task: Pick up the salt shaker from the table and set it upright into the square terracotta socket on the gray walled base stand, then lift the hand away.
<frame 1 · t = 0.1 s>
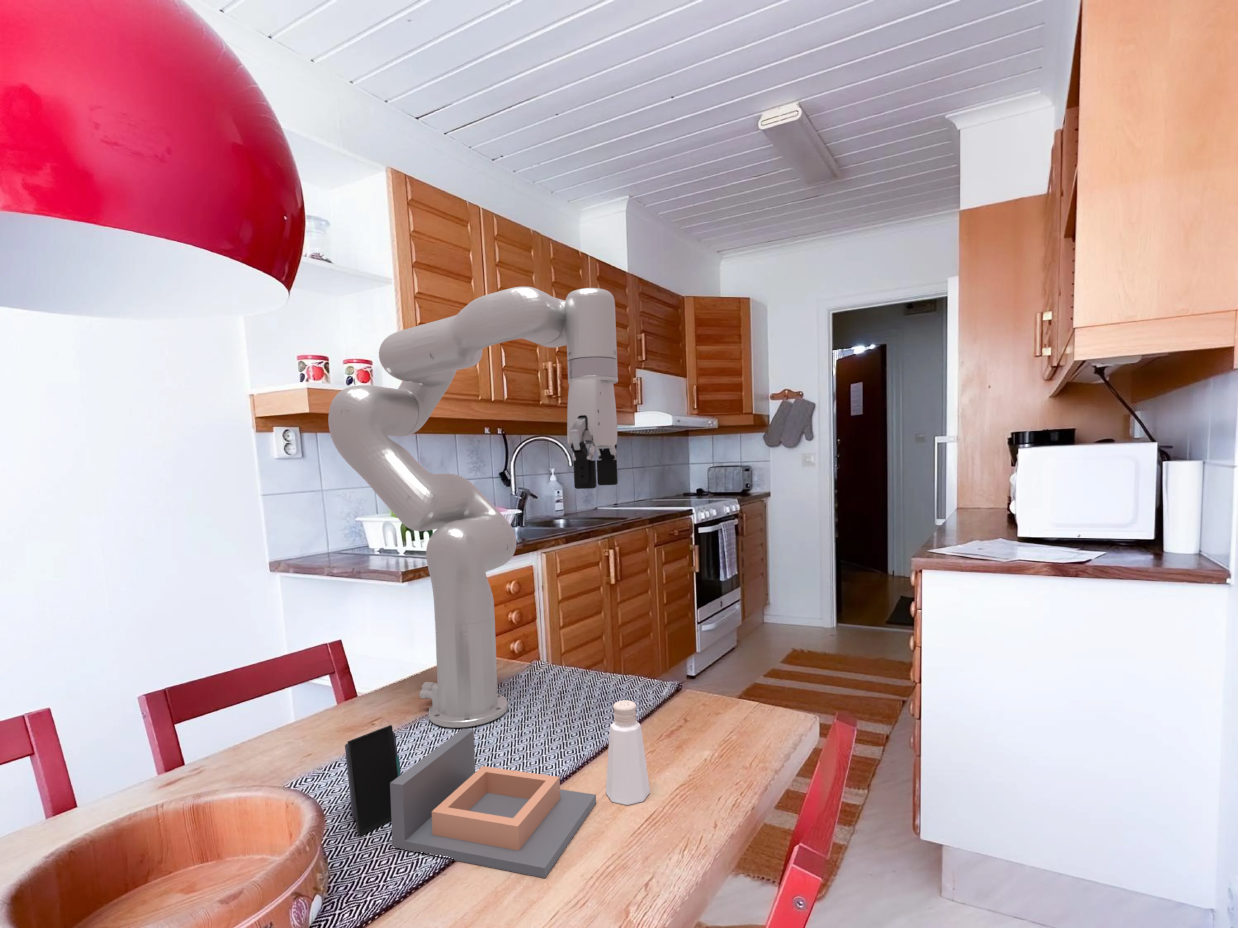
hand: (597, 486, 96), 37 cm above the table, tool pointing down, fingers open, 9 cm apart
salt shaker: (628, 795, 77), on the table
gray walled base stand: (499, 824, 71), on the table
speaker: (371, 814, 75), on the table
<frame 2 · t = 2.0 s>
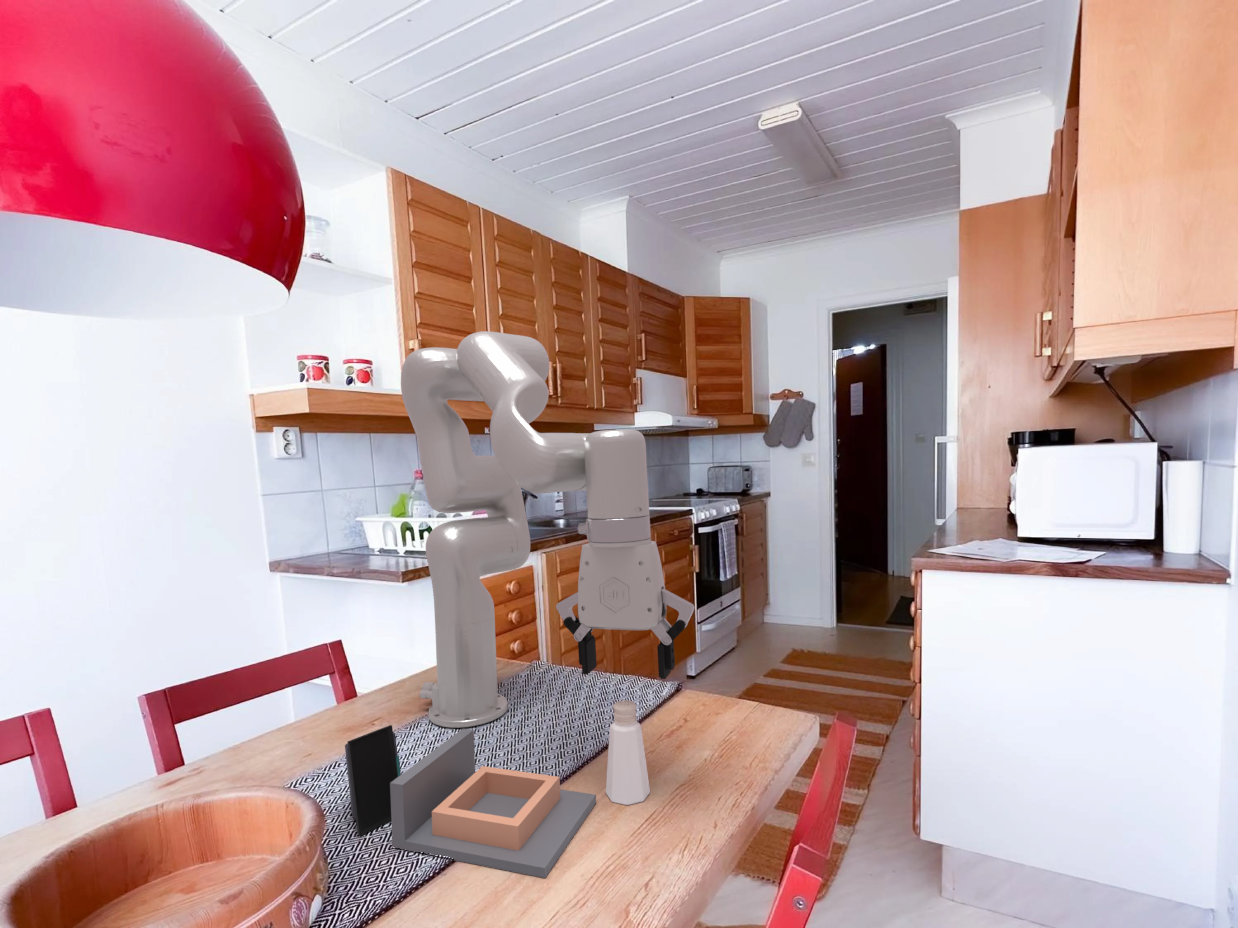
hand: (626, 673, 77), 15 cm above the table, tool pointing down, fingers open, 9 cm apart
nothing on the table moved.
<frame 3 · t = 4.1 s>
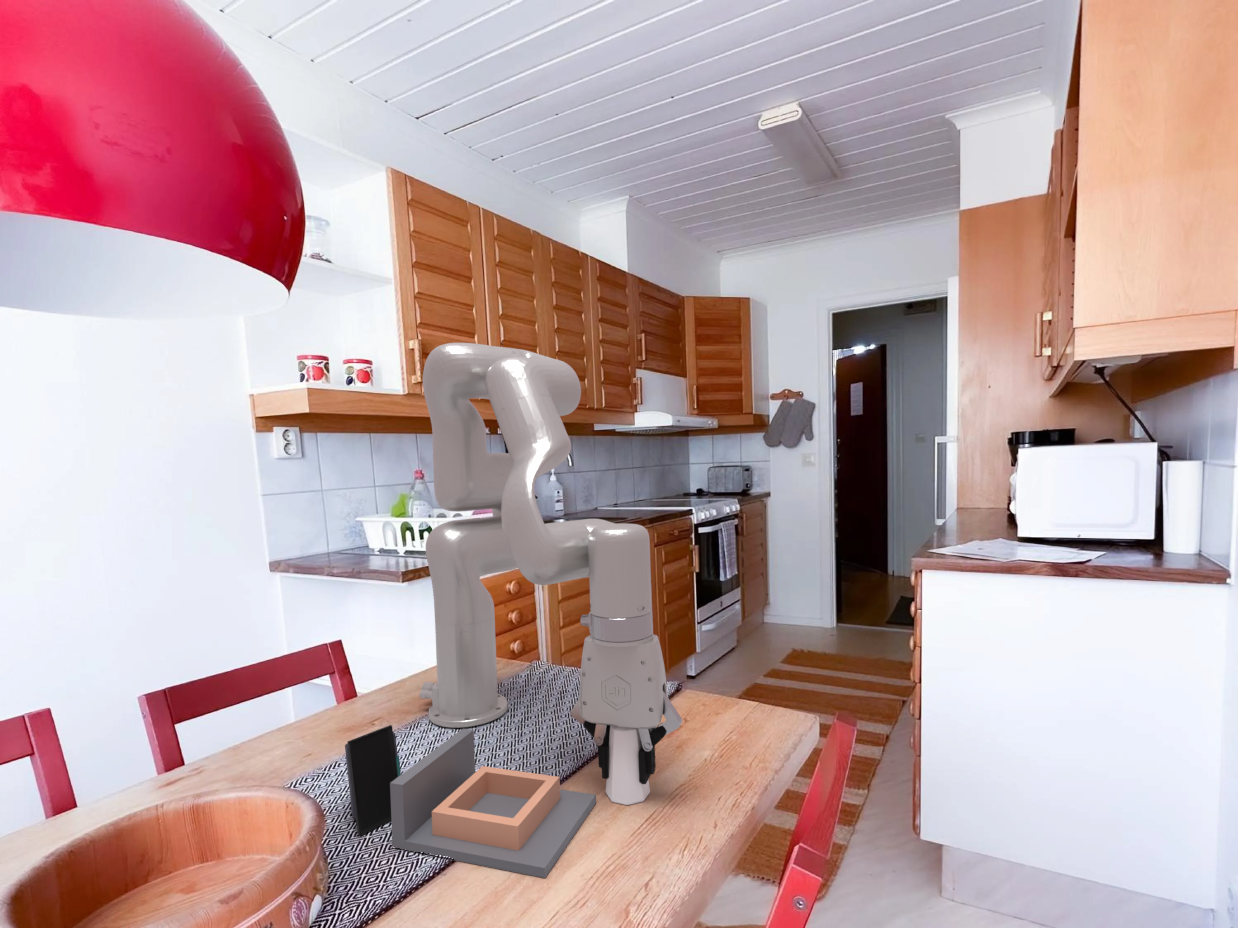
hand: (627, 774, 77), 2 cm above the table, tool pointing down, fingers closed on salt shaker, 4 cm apart
salt shaker: (628, 794, 77), on the table, touching gripper
everything else where it was.
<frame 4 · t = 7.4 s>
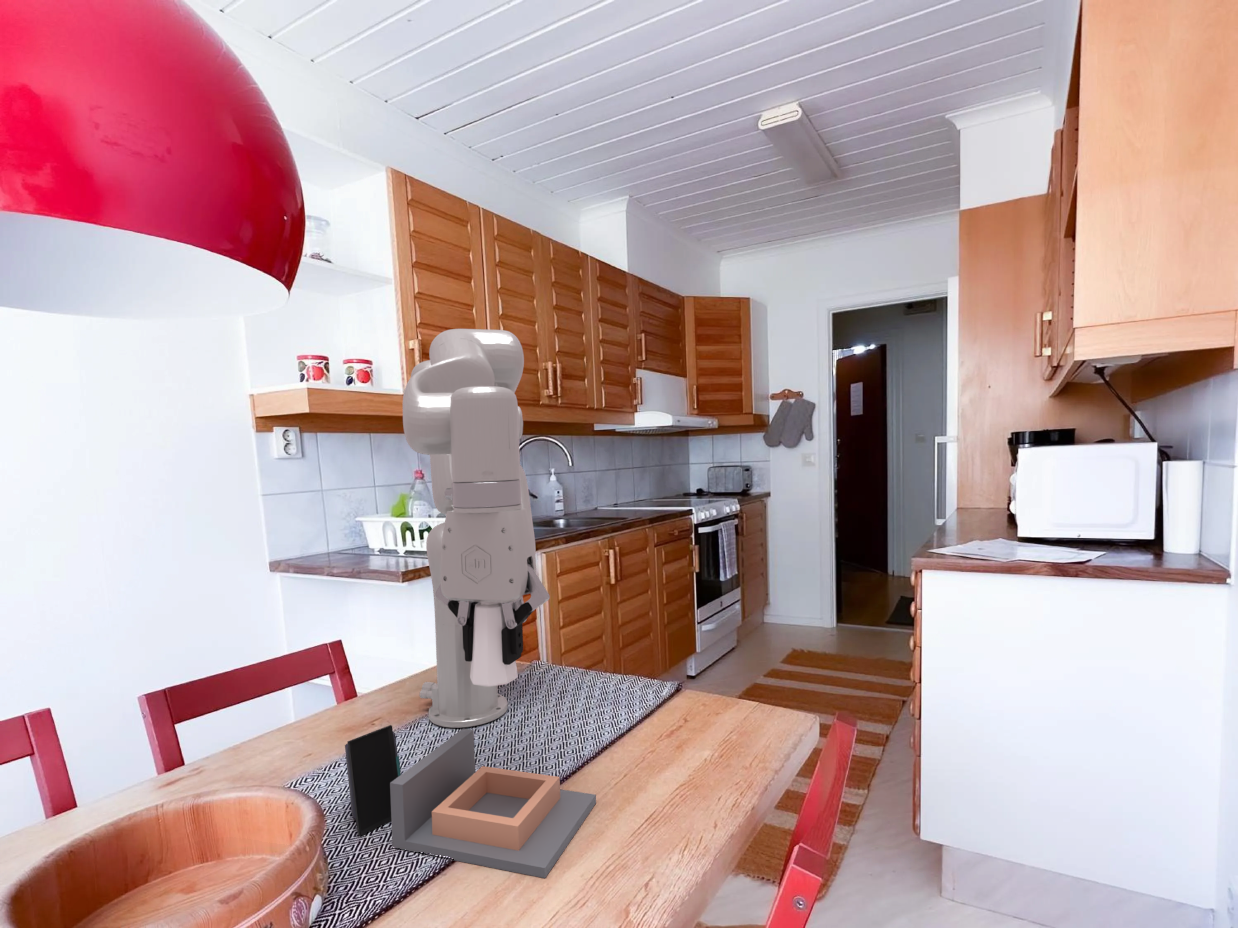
hand: (493, 657, 71), 19 cm above the table, tool pointing down, fingers closed on salt shaker, 4 cm apart
salt shaker: (494, 680, 71), point 16 cm above the table, touching gripper
everything else where it was.
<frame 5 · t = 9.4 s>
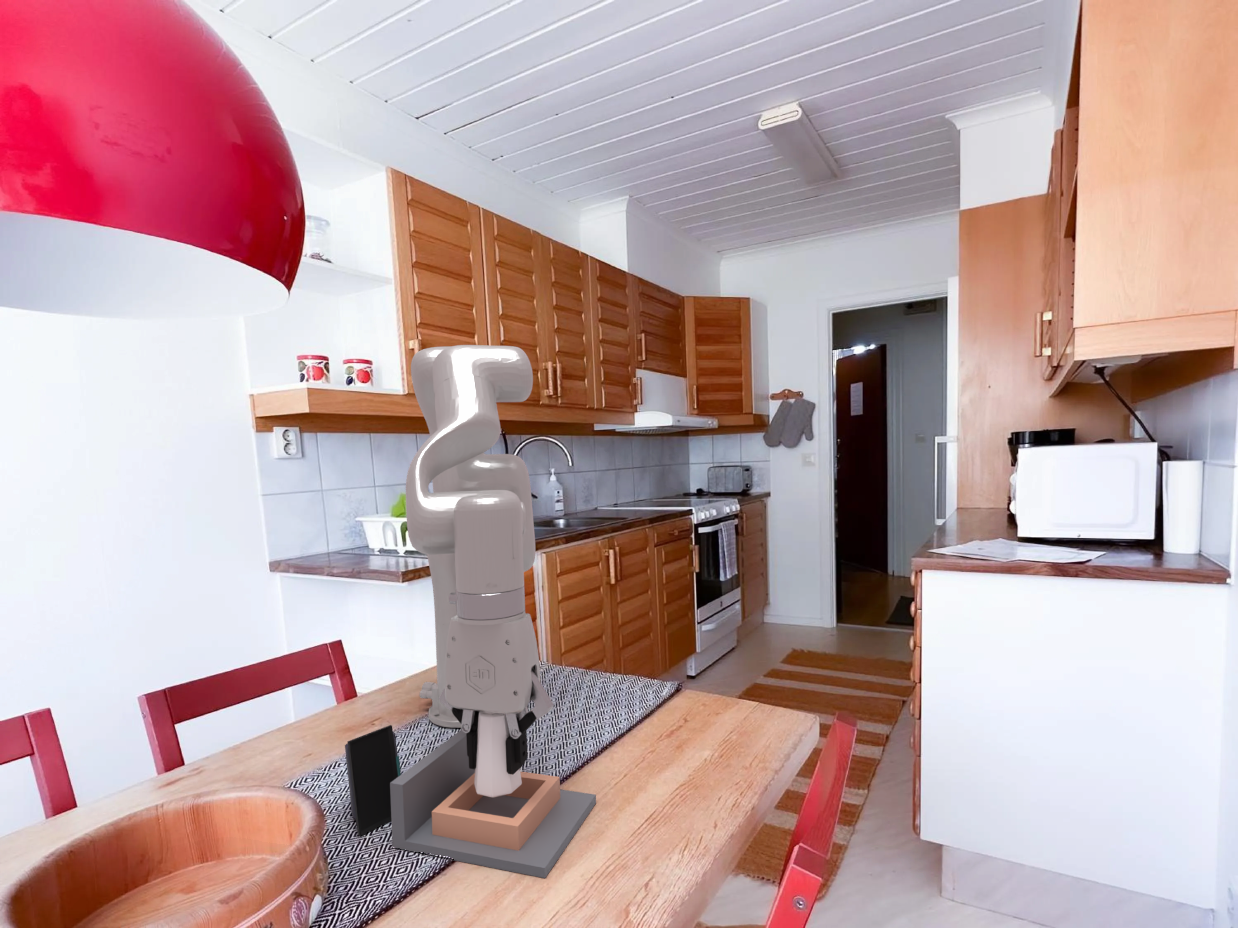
hand: (497, 764, 71), 7 cm above the table, tool pointing down, fingers closed on salt shaker, 4 cm apart
salt shaker: (498, 786, 71), point 4 cm above the table, touching gripper
everything else where it was.
when the fingers open (5 cm above the table, at t = 10.7 s): salt shaker drops 1 cm, resting on gray walled base stand.
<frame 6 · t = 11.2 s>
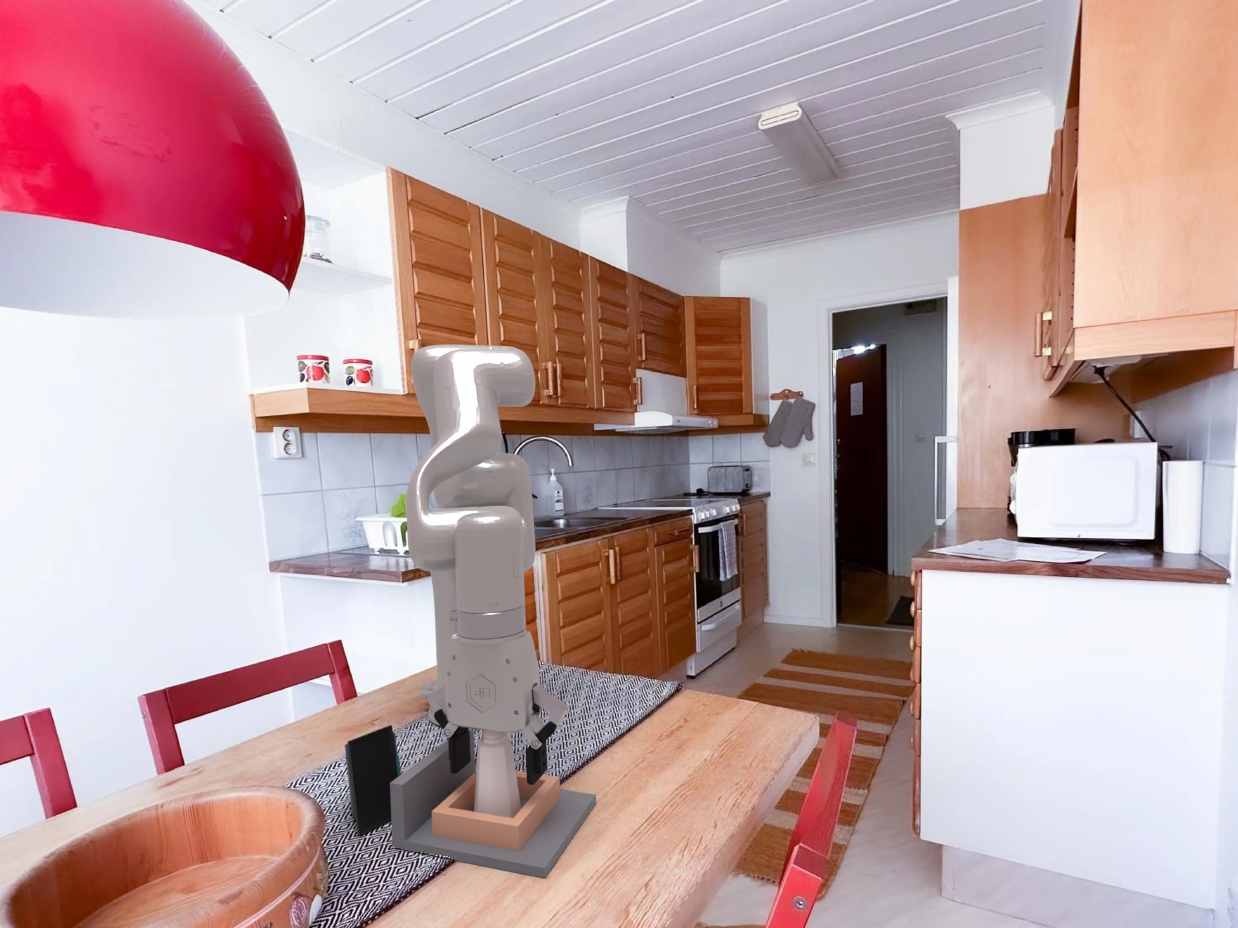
hand: (497, 773, 71), 6 cm above the table, tool pointing down, fingers open, 9 cm apart
salt shaker: (497, 815, 72), point 1 cm above the table, touching gray walled base stand
everything else where it was.
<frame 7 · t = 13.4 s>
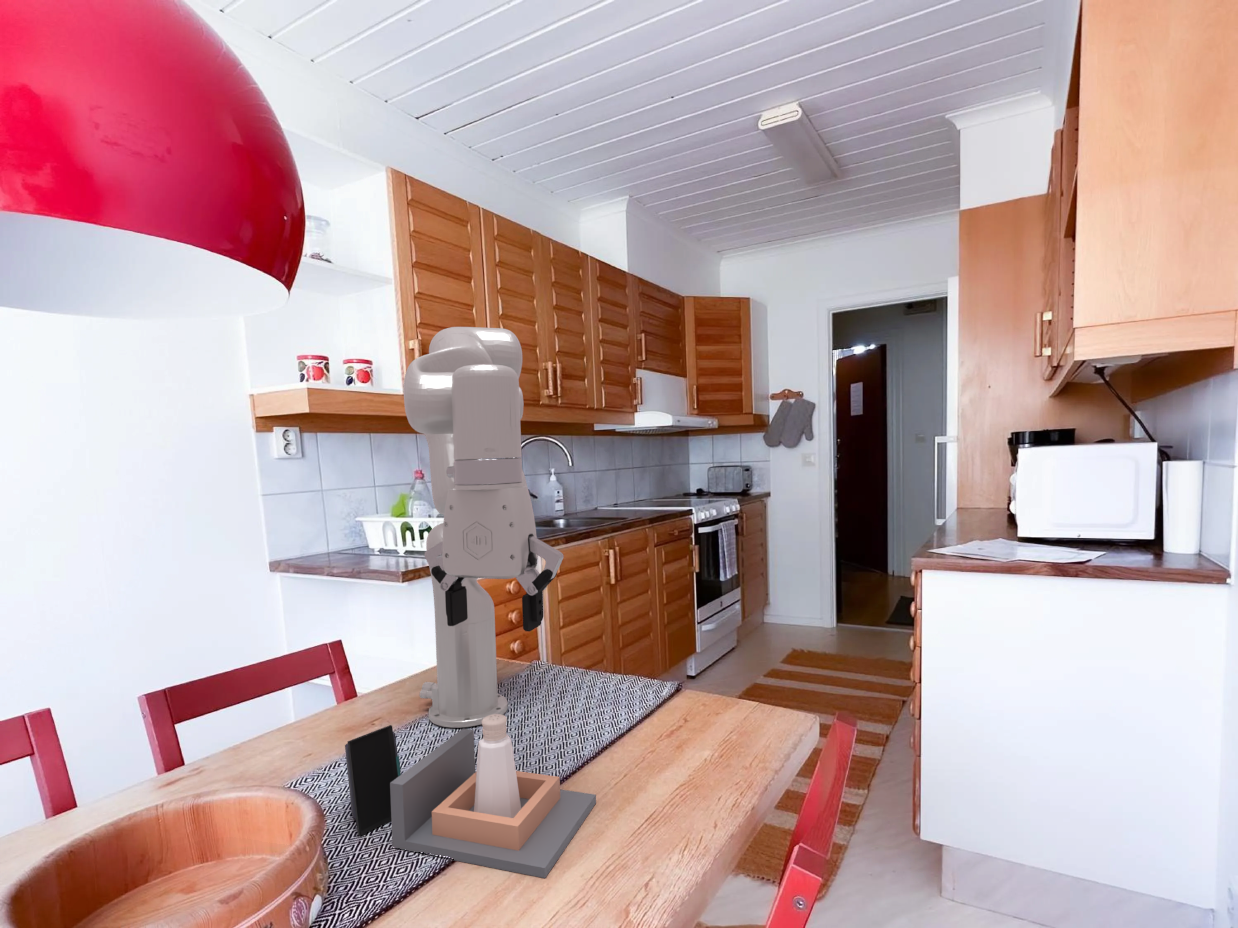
hand: (494, 625, 72), 22 cm above the table, tool pointing down, fingers open, 9 cm apart
nothing on the table moved.
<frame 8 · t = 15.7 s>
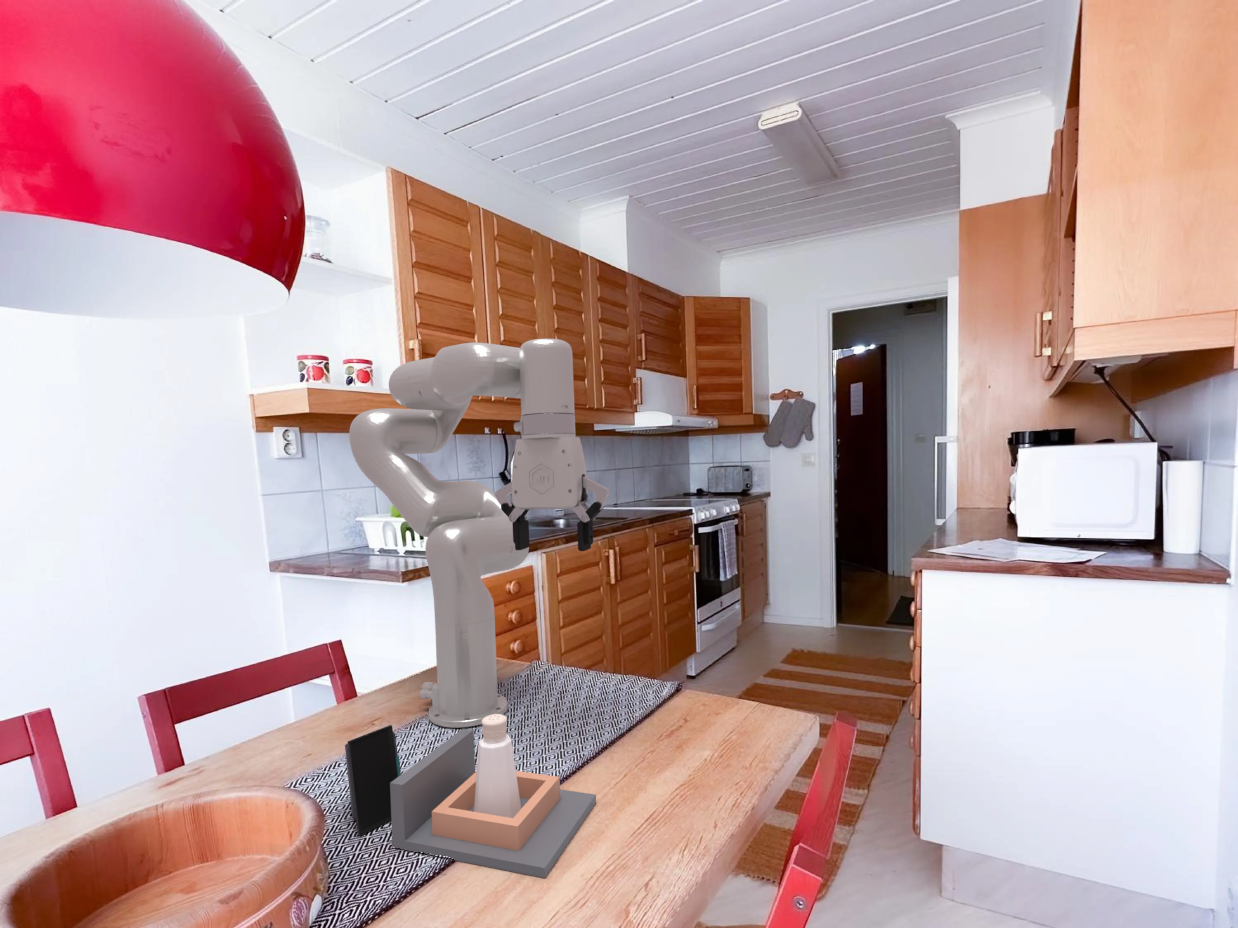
hand: (553, 549, 90), 28 cm above the table, tool pointing down, fingers open, 9 cm apart
nothing on the table moved.
at the end: salt shaker 0.3 cm off-centre on the gray walled base stand, point 0.8 cm above the gray walled base stand's base; salt shaker tilted 0°; the gripper is holding nothing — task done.
